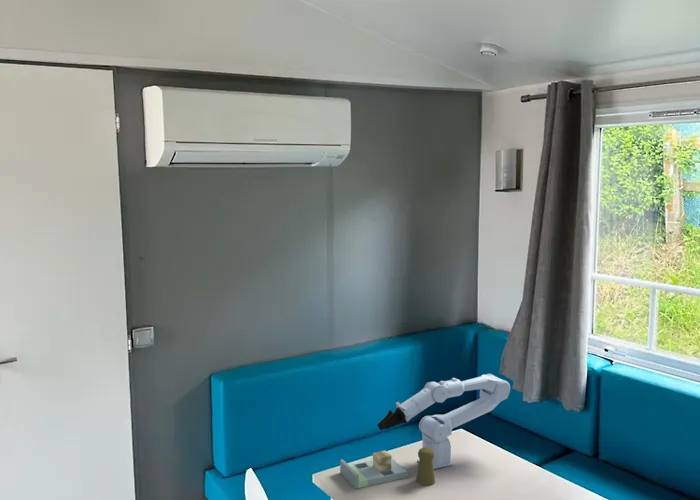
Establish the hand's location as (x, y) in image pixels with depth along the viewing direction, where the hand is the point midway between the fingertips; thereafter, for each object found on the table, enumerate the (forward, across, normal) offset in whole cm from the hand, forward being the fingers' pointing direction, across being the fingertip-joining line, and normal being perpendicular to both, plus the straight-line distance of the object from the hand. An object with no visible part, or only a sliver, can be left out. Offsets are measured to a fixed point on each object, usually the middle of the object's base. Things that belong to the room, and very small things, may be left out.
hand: (381, 427), depth 205 cm
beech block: (+5, -7, +12) cm, 14 cm away
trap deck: (+9, -7, +12) cm, 17 cm away
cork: (-3, 0, +22) cm, 22 cm away
